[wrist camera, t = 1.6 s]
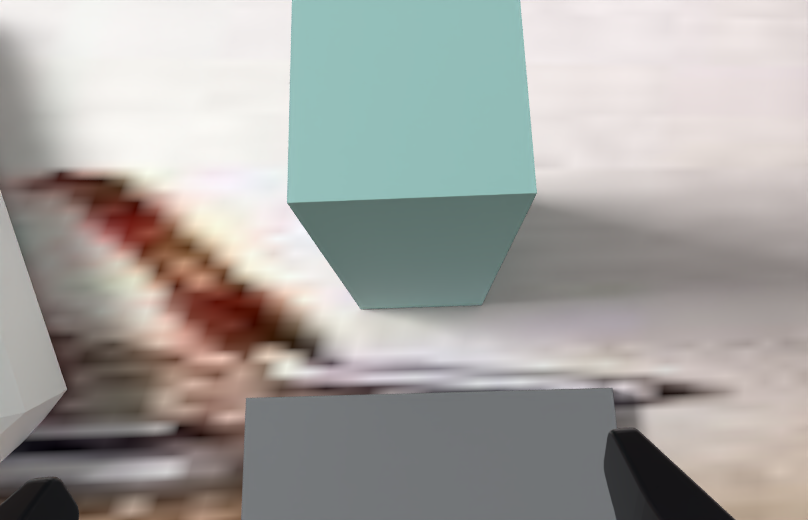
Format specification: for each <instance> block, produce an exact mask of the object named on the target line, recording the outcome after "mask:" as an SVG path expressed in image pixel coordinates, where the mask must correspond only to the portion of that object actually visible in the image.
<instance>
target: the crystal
mask: <svg viewBox="0 0 808 520" xmlns="http://www.w3.org/2000/svg"><path fill="white" fill-rule="evenodd" d="M66 390H67V387H66V384H65V381H64V378H63V375H62V373H61V370H60V367H59V364H58V361H57V358H56V355H55V352H54V349H53V346H52V343H51V340H50V337H49V334H48V331H47V328H46V325H45V322H44V319H43V316H42V313H41V310H40V307H39V304H38V301H37V298H36V295H35V292H34V289H33V286H32V283H31V280H30V277H29V274H28V271H27V268H26V265H25V262H24V259H23V256H22V253H21V250H20V247H19V244H18V241H17V238H16V235H15V232H14V229H13V226H12V223H11V220H10V217H9V214H8V211H7V208H6V205H5V203H4V200H3V197H2V194H1V191H0V462H1V461H3V460H4V459H5V458H6V457H7V456H8V455H9V454H10V453H11V452H12V451H14V450H15V449H16V448H17V447H18V446H19V445H20V444H21V443H22V442H23V441H24V440H25V439H26V438H27V437H28V436H29V435H30V434H31V433H32V432H33V430H34V429H35V428H36V427H37V426H38V425H39V424H40V423H41V422H42V421H43V420H44V419H45V417H46V416H47V415H48V414H49V412H50V411H51V410H52V408H53V407H54V406H55V405H56V403H57V402H58V401H59V399H60V398H61V397H62V396H63V394H64V393H65V392H66ZM19 413H20V414H19Z"/></svg>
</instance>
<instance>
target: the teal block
mask: <svg viewBox="0 0 808 520" xmlns="http://www.w3.org/2000/svg"><path fill="white" fill-rule="evenodd" d="M536 194H537V190H536V178H535V167H534V155H533V144H532V132H531V121H530V109H529V98H528V86H527V75H526V63H525V52H524V40H523V29H522V17H521V6H520V0H292V24H291V65H290V106H289V147H288V188H287V203H288V205H289V206H290V208H291V209H292V211H293V212H294V214H295V215H296V216H297V218H298V219H299V221H300V222H301V224H302V225H303V227H304V228H305V229H306V231H307V232H308V234H309V235H310V237H311V238H312V240H313V241H314V242H315V244H316V245H317V247H318V248H319V250H320V251H321V253H322V254H323V255H324V257H325V258H326V260H327V261H328V263H329V264H330V266H331V267H332V268H333V270H334V271H335V273H336V274H337V276H338V277H339V279H340V280H341V281H342V283H343V284H344V286H345V287H346V289H347V290H348V292H349V293H350V294H351V296H352V297H353V299H354V300H355V302H356V303H357V304H358V306H359V307H360V309H382V308H413V307H443V306H473V305H482V303H483V301H484V299H485V297H486V295H487V293H488V291H489V289H490V287H491V285H492V283H493V281H494V279H495V277H496V275H497V273H498V271H499V269H500V267H501V265H502V263H503V261H504V259H505V257H506V255H507V252H508V250H509V248H510V246H511V244H512V242H513V240H514V238H515V236H516V234H517V232H518V230H519V228H520V226H521V224H522V222H523V220H524V218H525V216H526V214H527V212H528V210H529V208H530V206H531V204H532V202H533V200H534V198H535V196H536Z"/></svg>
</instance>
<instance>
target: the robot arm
mask: <svg viewBox="0 0 808 520" xmlns="http://www.w3.org/2000/svg"><path fill="white" fill-rule="evenodd" d="M604 473H605V478H606V482H607V486H608V490H609V493H610V497H611V501H612V505H613V508H614V512H615V516H616V520H735V519H734V518H733V517H732V516H731V515H730V514H729V513H728V512H726V511H725V510H724V509H723V508H722V507H721V506H720V505H719V504H718V503H717V502H716V501H715V500H713V499H712V498H711V497H710V496H709V495H708V494H707V493H706V492H705V491H704V490H703V489H702V488H700V487H699V486H698V485H697V484H696V483H695V482H694V481H693V480H692V479H691V478H690V477H689V476H687V475H686V474H685V473H684V472H683V471H682V470H681V469H680V468H679V467H678V466H677V465H675V464H674V463H673V462H672V461H671V460H670V459H669V458H668V457H667V456H666V455H665V454H664V453H662V452H661V451H660V450H659V449H658V448H657V447H656V446H655V445H654V444H653V443H652V442H651V441H649V440H648V439H647V438H646V437H645V436H644V435H643V434H642V433H641V432H640V431H638V430H637V429H635V428H619V429H612V430H610V431H609V433H608V436H607V442H606V449H605V456H604ZM78 519H79V510H78V506H77V504H76V502H75V501H74V499H73V498H72V496H71V495H70V493H69V491H68V490H67V488H66V487H65V485H64V484H63V482H62V481H61V480H60V479H59V478H57V477H45V478H35V479H32V480H30V481H28V482H26V483H25V484H24V485H23V486H22V487H20V488H19V489H18V490H17V491H16V492H15V493H14V494H12V495H11V496H10V497H9V498H8V499H7V500H5V501H4V502H3V503H2V504H1V505H0V520H78Z"/></svg>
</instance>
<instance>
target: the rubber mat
mask: <svg viewBox="0 0 808 520" xmlns="http://www.w3.org/2000/svg"><path fill="white" fill-rule="evenodd" d="M612 429H617V425H616V416H615V407H614V398H613V389H612V388H591V389H555V390H519V391H483V392H447V393H412V394H376V395H340V396H304V397H268V398H246V413H245V439H244V464H243V490H242V515H241V520H616V516H615V512H614V508H613V505H612V501H611V497H610V493H609V490H608V486H607V482H606V478H605V473H604V456H605V449H606V442H607V436H608V433H609V431H610V430H612Z"/></svg>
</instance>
